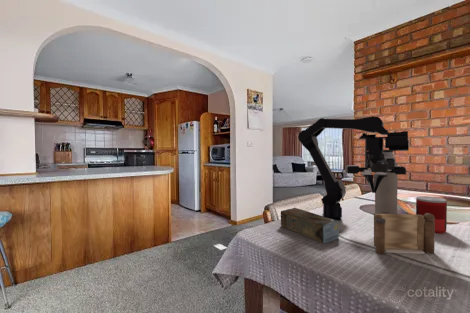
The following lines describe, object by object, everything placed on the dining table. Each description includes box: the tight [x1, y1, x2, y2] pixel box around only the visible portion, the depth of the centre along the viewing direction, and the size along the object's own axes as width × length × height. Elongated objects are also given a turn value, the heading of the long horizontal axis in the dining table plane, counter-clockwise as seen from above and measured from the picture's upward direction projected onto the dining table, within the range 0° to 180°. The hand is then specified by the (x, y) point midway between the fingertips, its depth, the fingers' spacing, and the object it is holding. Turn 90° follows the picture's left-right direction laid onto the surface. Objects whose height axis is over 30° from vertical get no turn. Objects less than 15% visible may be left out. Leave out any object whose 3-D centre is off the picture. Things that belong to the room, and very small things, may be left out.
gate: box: [373, 213, 424, 251], centre depth 62 cm, size 12×1×9 cm, turn 83°
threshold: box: [385, 248, 425, 255], centre depth 62 cm, size 10×3×1 cm, turn 84°
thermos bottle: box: [374, 149, 399, 214], centre depth 96 cm, size 8×8×28 cm
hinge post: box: [422, 213, 436, 255], centre depth 61 cm, size 2×2×11 cm
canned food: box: [415, 195, 448, 235], centre depth 77 cm, size 8×8×11 cm
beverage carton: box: [280, 207, 340, 244], centre depth 77 cm, size 8×19×7 cm, turn 31°
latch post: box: [375, 218, 386, 255], centre depth 61 cm, size 2×2×9 cm
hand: (373, 192), depth 83 cm, fingers closed
